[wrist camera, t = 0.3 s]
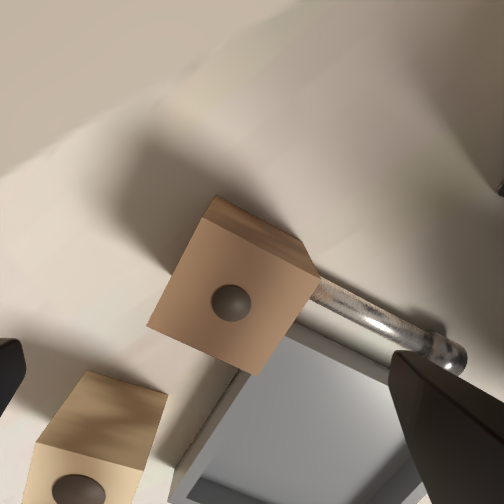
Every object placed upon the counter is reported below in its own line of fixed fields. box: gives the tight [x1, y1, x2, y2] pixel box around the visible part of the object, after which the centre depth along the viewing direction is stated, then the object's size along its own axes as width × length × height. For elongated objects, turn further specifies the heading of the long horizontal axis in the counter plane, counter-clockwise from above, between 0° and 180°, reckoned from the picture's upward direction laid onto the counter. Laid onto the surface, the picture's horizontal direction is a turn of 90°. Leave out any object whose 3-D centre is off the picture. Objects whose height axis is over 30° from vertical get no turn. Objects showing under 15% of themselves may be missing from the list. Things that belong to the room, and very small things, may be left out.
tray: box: [167, 322, 427, 504], centre depth 24 cm, size 16×16×2 cm
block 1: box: [21, 371, 168, 504], centre depth 22 cm, size 6×6×6 cm
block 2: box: [146, 195, 321, 377], centre depth 18 cm, size 6×6×6 cm
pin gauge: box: [309, 276, 467, 376], centre depth 21 cm, size 12×2×2 cm, turn 61°
